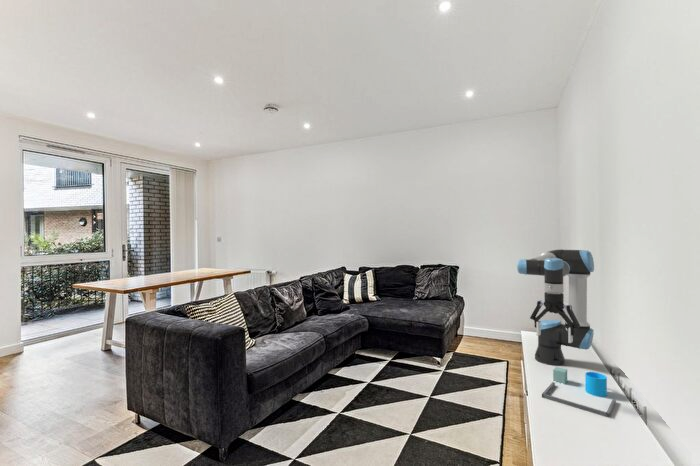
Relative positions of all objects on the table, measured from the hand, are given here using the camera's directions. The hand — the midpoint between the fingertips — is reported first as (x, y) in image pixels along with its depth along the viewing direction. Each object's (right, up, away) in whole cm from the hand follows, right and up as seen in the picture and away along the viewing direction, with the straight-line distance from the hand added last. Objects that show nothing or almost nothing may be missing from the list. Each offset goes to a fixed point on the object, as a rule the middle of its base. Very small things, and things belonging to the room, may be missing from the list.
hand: (554, 338), depth 160 cm
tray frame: (+9, -27, -3) cm, 28 cm away
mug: (+23, -27, +5) cm, 36 cm away
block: (+13, -26, +16) cm, 33 cm away
